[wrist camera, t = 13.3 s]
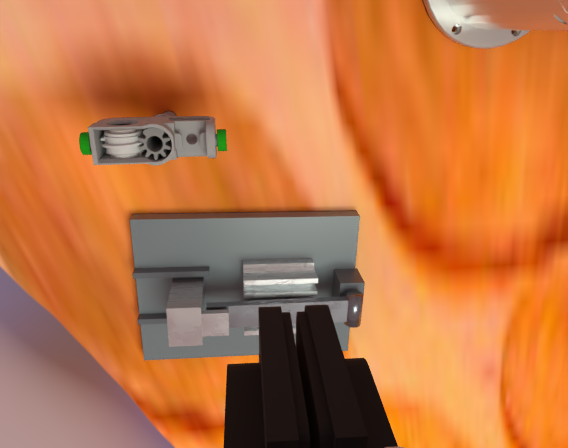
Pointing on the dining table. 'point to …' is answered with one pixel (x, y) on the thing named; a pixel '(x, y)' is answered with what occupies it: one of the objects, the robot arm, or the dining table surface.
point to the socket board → (234, 265)
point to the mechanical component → (151, 139)
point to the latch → (192, 314)
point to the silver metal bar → (293, 309)
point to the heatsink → (278, 281)
